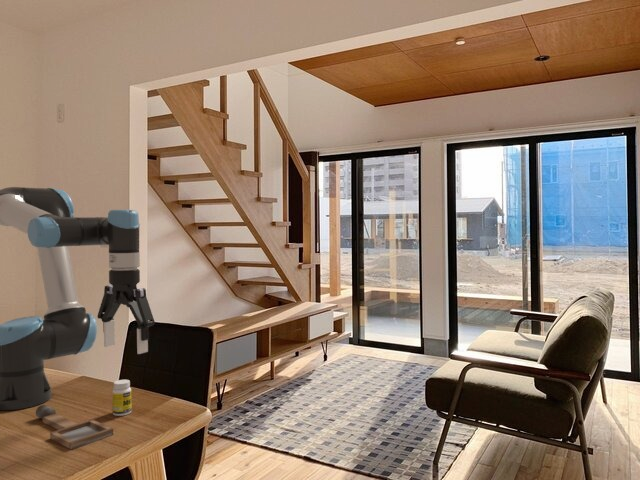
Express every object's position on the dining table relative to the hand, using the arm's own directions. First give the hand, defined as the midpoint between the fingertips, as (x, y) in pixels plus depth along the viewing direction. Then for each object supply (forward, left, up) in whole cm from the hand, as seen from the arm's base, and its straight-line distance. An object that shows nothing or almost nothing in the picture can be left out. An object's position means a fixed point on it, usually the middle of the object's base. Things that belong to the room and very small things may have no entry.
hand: (125, 349), depth 132 cm
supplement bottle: (-2, 0, -18) cm, 18 cm away
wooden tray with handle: (-4, -14, -17) cm, 23 cm away
